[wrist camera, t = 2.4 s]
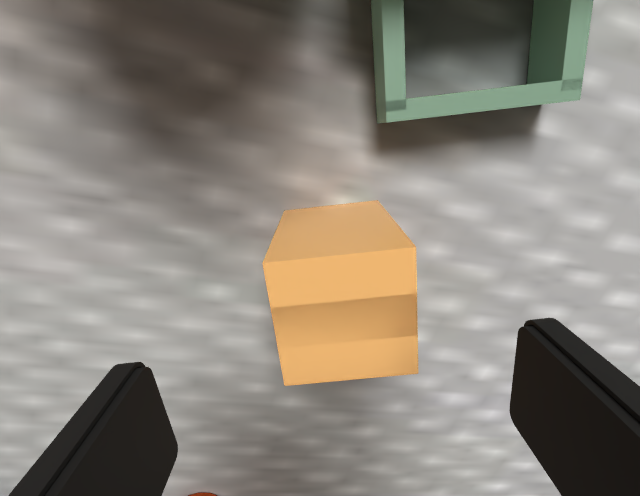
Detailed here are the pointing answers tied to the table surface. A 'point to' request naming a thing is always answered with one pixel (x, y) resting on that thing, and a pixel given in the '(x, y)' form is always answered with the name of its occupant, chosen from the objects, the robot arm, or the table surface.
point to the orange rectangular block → (342, 294)
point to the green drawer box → (542, 88)
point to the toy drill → (203, 494)
